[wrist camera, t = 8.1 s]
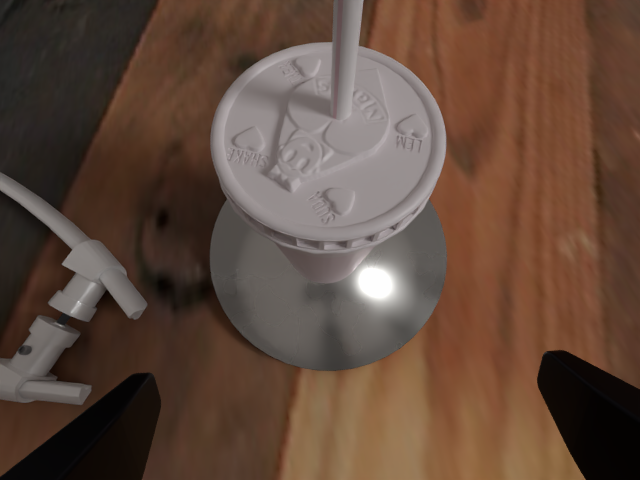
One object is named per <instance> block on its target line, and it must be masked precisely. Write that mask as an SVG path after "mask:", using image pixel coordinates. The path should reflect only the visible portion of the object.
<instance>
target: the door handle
mask: <svg viewBox="0 0 640 480" xmlns="http://www.w3.org/2000/svg"><path fill="white" fill-rule="evenodd" d="M0 191H2V192H3V193H5V194H6V195H8V196H9V197H11V198H12V199H14V200H15V201H17V202H18V203H19V204H21V205H22V206H23V207H24V208H26V209H27V210H28V211H29V212H31V213H32V214H33V215H34V216H36V217H37V218H38V219H39V220H41V221H42V222H43V223H44V224H46V225H47V226H48V227H49V228H50V229H51V230H52V231H53V232H54V233H55V234H56V235H57V236H58V237H59V238H61V239H62V240H63V241H64V242H65V243H66V244H67V245H68V246H69V247H70V248H71V249H72V251H71V252H70V254H69V255H68V256H67V258H66V259H65V260H64V262H63V263H62V265H63V266H65V267H67V268H69V269H71V270H73V271H75V272H76V273H75V275H74V276H73V277H72V279H71V280H70V281H69V283H68V284H67V286H66V287H65V288H64V290H63V291H61V290H58V291H57V292H56V293H55V295H54V296H53V297H52V298H51V299H50V300H49V302H48V304H49V305H50V306H52V307H54V308H55V309H57V310H59V311H61V312H63V314H62V316H61V317H59V319H58V320H55V319H52V318H50V317H46V316H42V315H38V316H37V318H36V319H35V321H34V322H33V324H32V325H31V327H30V329H29V331H30V332H31V334H30V335H29V336H28V338H27V339H26V340H25V342H24V343H23V345H22V346H20V347H19V349H18V351H17V353H16V354H15V355H14V357H13V358H12V359H4V358H0V399H1V400H8V401H14V402H21V403H28V402H32V401H35V400H40V401H49V402H58V403H67V404H76V405H82V404H83V403H84V401H85V400H86V398H87V397H88V395H89V394H90V392H91V387H92V385H85V384H81V383H72V382H63V381H56V379H57V378H58V377H57V376H55V375H53V374H52V373H50V372H49V371H50V369H51V368H52V367H53V365H54V364H55V362H56V361H57V359H58V358H59V357H60V355H61V354H62V352H63V351H64V350H65V348H70V347H71V346H72V345H73V343H74V342H75V341H76V340H77V338H78V337H79V336H80V332H79V331H77V330H76V329H74V328H72V327H70V326H69V325H67V324H66V322H67V321H68V319H69V318H70V316H72V317H74V318H77V319H79V320H82V321H86V322H89V321H90V320H91V318H92V317H93V315H94V313H95V312H96V310H97V308H96V307H95V306H96V304H97V303H98V301H99V300H100V298H101V297H102V296H103V294H104V293H105V291H106V290H108V291H109V292H110V294H111V295H112V296H113V298H114V299H115V300H116V302H117V303H118V304H119V306H120V307H121V308H122V310H123V311H124V312H125V314H126V315H127V316H128V318H133V319H134V320H135V319H138V318H139V317H140V316H141V314H142V313H143V311H144V310H145V308H146V306H147V302H146V301H145V300H144V298H143V297H142V296H141V294H140V293H139V292H138V291H137V289H136V288H135V287H134V285H133V284H132V283H131V282H130V280H129V279H128V278H127V273H126V270H125V269H124V267H123V266H122V265H121V264H120V263H119V262H118V260H117V259H116V258H115V257H114V256H113V255H112V253H111V252H110V251H109V250H108V249H107V248H106V246H105V245H104V244H103V243H102V242H100V241H98V240H91V239H90V238H89V237H88V236H87V235H86V234H84V233H83V232H82V231H81V230H80V229H79V228H78V227H77V226H76V225H75V224H74V223H73V222H71V221H70V220H69V219H68V218H66V217H65V216H64V215H62V214H61V213H60V212H59V211H57V210H56V209H55V208H54V207H52V206H51V205H50V204H49V203H47V202H46V201H45V200H43V199H42V198H40V197H39V196H37V195H36V194H34V193H33V192H31V191H30V190H28V189H27V188H25V187H24V186H22V185H21V184H19V183H18V182H16V181H15V180H13V179H12V178H10V177H8V176H6V175H4V174H3V173H1V172H0Z"/></svg>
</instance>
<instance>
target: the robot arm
mask: <svg viewBox="0 0 640 480" xmlns="http://www.w3.org/2000/svg"><path fill="white" fill-rule="evenodd" d="M537 383H538V388H539V390H540V392H541V394H542V396H543V398H544V401H545V403H546V405H547V407H548V409H549V411H550V413H551V415H552V417H553V419H554V421H555V423H556V425H557V427H558V430H559V432H560V434H561V436H562V438H563V440H564V442H565V444H566V446H567V448H568V450H569V452H570V454H571V455H572V457H573V459H574V461H575V462H576V464H577V466H578V468H579V469H580V471H581V473H582V474H583V476H584V478H585V479H586V480H640V389H638V388H636V387H634V386H632V385H630V384H628V383H626V382H624V381H623V380H621V379H619V378H617V377H615V376H613V375H611V374H609V373H607V372H605V371H603V370H601V369H600V368H598V367H596V366H594V365H592V364H590V363H588V362H586V361H584V360H582V359H580V358H578V357H576V356H575V355H573V354H571V353H569V352H567V351H564V350H556V351H547V352H545V353H544V354H543V357H542V361H541V365H540V369H539V373H538V377H537ZM160 409H161V399H160V395H159V391H158V388H157V384H156V380H155V377H154V375H153V374H152V373H135V374H132V375H131V376H129V377H128V378H127V379H125V380H124V381H123V382H122V383H120V384H119V385H118V386H116V387H115V388H114V389H113V390H111V391H110V392H109V393H107V394H106V395H105V396H104V397H102V398H101V399H100V400H98V401H97V402H96V403H95V404H93V405H92V406H91V407H89V408H88V409H87V410H86V411H84V412H83V413H82V414H80V415H79V416H78V417H77V418H75V419H74V420H73V421H71V422H70V423H69V424H68V425H66V426H65V427H64V428H62V429H61V430H60V431H59V432H57V433H56V434H55V435H54V436H52V437H51V438H50V439H48V440H47V441H46V442H45V443H43V444H42V445H41V446H39V447H38V448H37V449H36V450H34V451H33V452H32V453H30V454H29V455H28V456H27V457H25V458H24V459H23V460H21V461H20V462H19V463H18V464H16V465H15V466H14V467H12V468H11V469H10V470H9V471H7V472H6V473H5V474H3V475H2V476H1V477H0V480H142V477H143V474H144V470H145V467H146V463H147V459H148V455H149V451H150V447H151V444H152V440H153V436H154V432H155V428H156V425H157V421H158V417H159V413H160Z"/></svg>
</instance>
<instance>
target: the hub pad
mask: <svg viewBox="0 0 640 480" xmlns="http://www.w3.org/2000/svg"><path fill="white" fill-rule="evenodd" d="M446 264H447V252H446V243H445V237H444V233H443V229H442V225H441V223H440V220H439V218H438V215H437V213H436V211H435V209H434V207H433V205H432V204H431V202H430V200H429V199H428V201H427V203H426V205H425V207H424V209H423V210H422V211H421V212H420V213H419V214H418V215H417V216H416V217H415V218H414V219H413V220H412V221H411V222H410V224H409V225H408V226H407V227H406V228H405V229H404V230H402V231H401V232H399V233H397V234H395V235H394V236H392V237H390V238H389V239H387V240H385V241H384V242H382V243H380V244H378V245H376V246H375V247H374V248H373V249H372V250H371V252H370V253H369V254H368V255H367V256H366V257H365V258H364V259H363V260H362V262H361V263H360V264H359V265H358V266H357V267H356V268H355V269H354V271H353V272H352V273H351V274H350V275H348V276H347V277H345V278H344V279H342V280H340V281H337V282H334V283H317V282H313V281H310V280H308V279H306V278H305V277H303V276H302V275H301V274H300V273H298V272H297V270H296V269H295V268H294V267H293V265H292V264H291V263H290V262H289V260H288V259H287V258H286V257H285V255H284V254H283V253H282V252H281V250H280V249H279V248H278V247H277V245H276V244H275V243H274V242H273V241H271V240H269V239H267V238H266V237H264V236H262V235H260V234H258V233H256V232H255V231H254V230H253V229H252V228H251V227H250V226H249V225H248V224H247V223H246V222H245V221H244V220H242V219H241V218H240V217H239V216H238V215H237V214H236V213H235V212H234V210H233V208H232V206H231V205H230V203H229V201H228V199H227V200H226V202H225V203H224V205H223V207H222V209H221V210H220V213H219V215H218V218H217V220H216V223H215V226H214V230H213V234H212V238H211V246H210V269H211V276H212V282H213V285H214V288H215V292H216V295H217V297H218V300H219V302H220V304H221V306H222V308H223V310H224V312H225V313H226V315H227V316H228V318H229V319H230V321H231V322H232V324H233V325H234V326H235V327H236V328H237V330H238V331H239V332H240V333H241V334H242V335H243V336H244V337H245V338H246V339H247V340H248V341H250V342H251V343H252V344H253V345H254V346H255V347H257V348H259V349H260V350H262V351H263V352H265V353H266V354H268V355H270V356H272V357H274V358H276V359H278V360H280V361H283V362H285V363H287V364H291V365H294V366H297V367H301V368H305V369H312V370H319V371H337V370H345V369H353V368H356V367H360V366H364V365H367V364H370V363H373V362H375V361H377V360H380V359H382V358H384V357H386V356H388V355H390V354H391V353H393V352H395V351H396V350H398V349H400V348H401V347H402V346H403V345H404V344H406V343H407V342H408V341H409V340H411V339H412V338H413V337H414V336H415V335H416V333H417V332H418V331H419V330H420V329H421V328H422V327H423V326H424V324H425V323H426V321H427V320H428V318H429V317H430V315H431V314H432V312H433V310H434V308H435V306H436V304H437V302H438V300H439V298H440V294H441V291H442V288H443V285H444V280H445V274H446Z"/></svg>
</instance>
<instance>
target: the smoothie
mask: <svg viewBox="0 0 640 480" xmlns="http://www.w3.org/2000/svg"><path fill="white" fill-rule="evenodd" d="M362 8H363V0H334V10H333V40H332V42H326V43H310V44H304V45H299V46H294V47H290V48H287V49H284V50H281V51H279V52H276V53H273V54H271V55H270V56H268V57H266V58H264V59H262V60H260V61H259V62H257V63H255V64H254V65H253V66H251V67H250V68H248V69H247V70H246V71H245V72H244V73H242V74H241V75H240V76H239V77H238V78H237V79H236V80H235V81H234V82H233V84H232V85H231V86H230V87H229V89H228V90H227V91H226V93H225V94H224V96H223V98H222V99H221V101H220V103H219V105H218V107H217V110H216V113H215V116H214V119H213V123H212V129H211V154H212V159H213V163H214V167H215V170H216V172H217V175H218V177H219V181H220V185H221V189H222V191H223V192H224V194H225V196H226V198H227V199H228V201H229V203H230V205H231V206H232V208H233V210H234V212H235V213H236V214H237V215H238V216H239V217H240V218H241V219H242V220H244V221H245V222H246V223H247V224H248V225H249V226H250V227H251V228H252V229H253V230H254V231H255V232H256V233H258V234H260V235H262V236H264V237H266V238H267V239H269V240H271V241H273V242H274V243H275V244H276V245H277V247H278V248H279V249H280V250H281V252H282V253H283V254H284V255H285V257H286V258H287V259H288V260H289V262H290V263H291V264H292V265H293V267H294V268H295V269H296V270H297V272H298V273H300V274H301V275H302V276H303V277H305V278H306V279H308V280H310V281H313V282H317V283H334V282H337V281H340V280H342V279H344V278H345V277H347V276H348V275H350V274H351V273H352V272H353V271H354V269H355V268H356V267H357V266H358V265H359V264H360V263H361V262H362V260H363V259H364V258H365V257H366V256H367V255H368V254H369V253H370V252H371V250H372V249H373V248H374V247H375V246H376V245H378V244H380V243H382V242H384V241H385V240H387V239H389V238H390V237H392V236H394V235H395V234H397V233H399V232H401V231H402V230H404V229H405V228H406V227H407V226H408V225H409V224H410V222H411V221H412V220H413V219H414V218H415V217H416V216H417V215H418V214H419V213H420V212H421V211H422V210H423V209H424V207H425V205H426V203H427V201H428V199H429V197H430V195H431V193H432V191H433V189H434V187H435V185H436V182H437V179H438V177H439V175H440V173H441V170H442V167H443V163H444V159H445V153H446V132H445V125H444V121H443V118H442V115H441V112H440V109H439V107H438V105H437V103H436V101H435V99H434V97H433V96H432V94H431V93H430V91H429V90H428V89H427V87H426V86H425V85H424V84H423V82H422V81H421V80H420V79H419V78H418V77H417V76H416V75H415V74H413V73H412V72H411V71H410V70H409V69H408V68H406V67H405V66H403V65H402V64H400V63H399V62H397V61H395V60H394V59H392V58H390V57H388V56H386V55H384V54H382V53H379V52H377V51H375V50H372V49H368V48H365V47H361V46H358V44H359V35H360V26H361V17H362Z"/></svg>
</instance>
